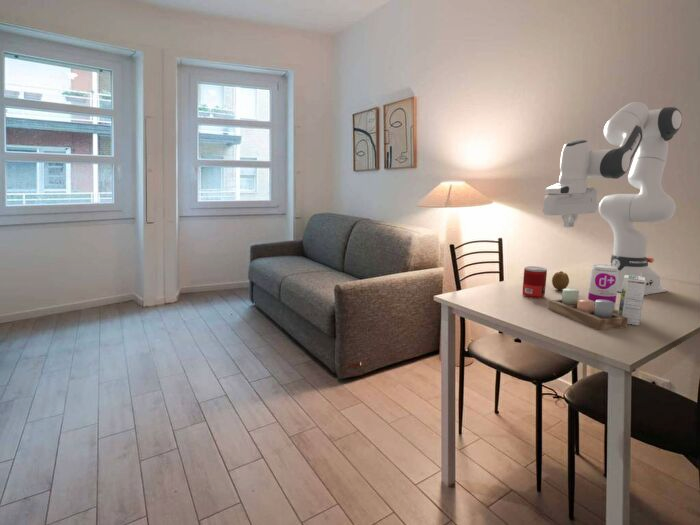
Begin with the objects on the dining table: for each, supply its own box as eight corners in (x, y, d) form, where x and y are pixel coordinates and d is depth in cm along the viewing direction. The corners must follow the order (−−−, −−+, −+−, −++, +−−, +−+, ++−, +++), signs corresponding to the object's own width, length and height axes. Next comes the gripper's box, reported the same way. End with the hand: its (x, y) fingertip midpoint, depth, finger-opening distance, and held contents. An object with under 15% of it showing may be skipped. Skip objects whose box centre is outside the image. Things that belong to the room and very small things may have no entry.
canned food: (546, 298, 154) (549, 270, 152) (524, 297, 155) (526, 269, 153) (541, 293, 161) (544, 266, 159) (520, 292, 163) (522, 265, 161)
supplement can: (614, 313, 136) (620, 269, 133) (586, 309, 140) (591, 267, 138) (614, 307, 143) (619, 265, 140) (587, 303, 147) (591, 263, 144)
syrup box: (617, 317, 132) (623, 274, 129) (639, 321, 128) (646, 276, 126) (617, 322, 127) (622, 277, 124) (640, 326, 124) (646, 280, 121)
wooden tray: (572, 306, 144) (573, 298, 143) (626, 327, 123) (627, 317, 122) (548, 308, 142) (548, 300, 141) (598, 329, 121) (599, 320, 120)
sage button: (570, 302, 141) (571, 288, 140) (580, 305, 137) (582, 291, 136) (558, 302, 140) (559, 288, 139) (568, 306, 136) (569, 292, 135)
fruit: (559, 287, 170) (561, 269, 169) (571, 291, 165) (573, 272, 163) (547, 289, 168) (549, 270, 167) (559, 292, 163) (561, 273, 161)
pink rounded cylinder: (585, 313, 135) (586, 298, 134) (596, 317, 130) (598, 302, 129) (572, 314, 134) (574, 299, 133) (584, 318, 129) (585, 303, 128)
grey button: (602, 314, 128) (604, 298, 127) (615, 319, 123) (617, 303, 122) (590, 315, 127) (591, 299, 126) (602, 320, 122) (604, 304, 121)
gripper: (589, 186, 149) (586, 224, 152) (541, 188, 144) (539, 227, 147) (604, 187, 143) (600, 226, 146) (554, 189, 138) (551, 229, 141)
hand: (569, 226), depth 146 cm, fingers closed
